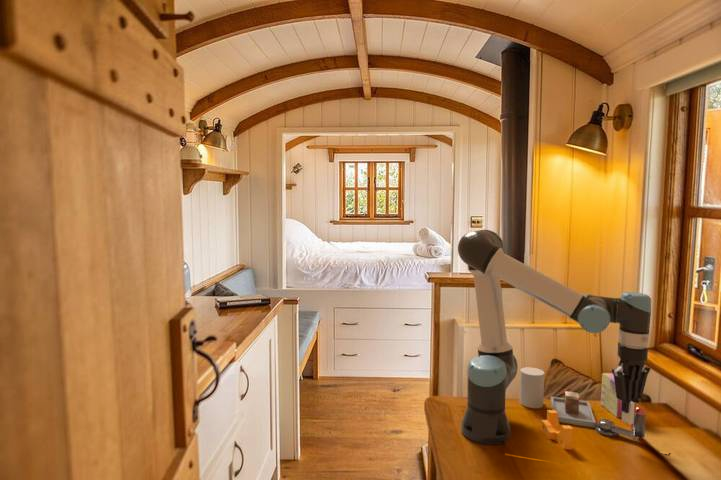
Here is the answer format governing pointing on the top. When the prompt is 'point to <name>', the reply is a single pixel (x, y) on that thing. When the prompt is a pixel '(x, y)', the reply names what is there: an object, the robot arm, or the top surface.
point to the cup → (531, 387)
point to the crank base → (605, 432)
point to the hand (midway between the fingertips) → (627, 422)
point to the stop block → (571, 402)
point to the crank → (635, 434)
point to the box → (610, 395)
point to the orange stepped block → (557, 430)
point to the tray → (582, 419)
